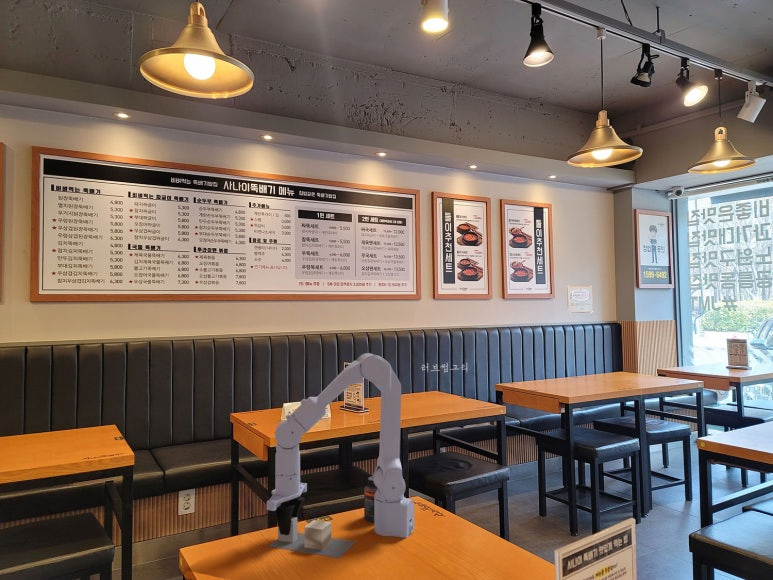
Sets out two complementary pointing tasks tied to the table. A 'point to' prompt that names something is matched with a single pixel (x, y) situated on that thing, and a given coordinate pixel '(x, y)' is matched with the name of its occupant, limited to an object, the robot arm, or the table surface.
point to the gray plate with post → (297, 544)
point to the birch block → (317, 535)
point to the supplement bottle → (369, 500)
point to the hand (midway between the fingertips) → (287, 532)
